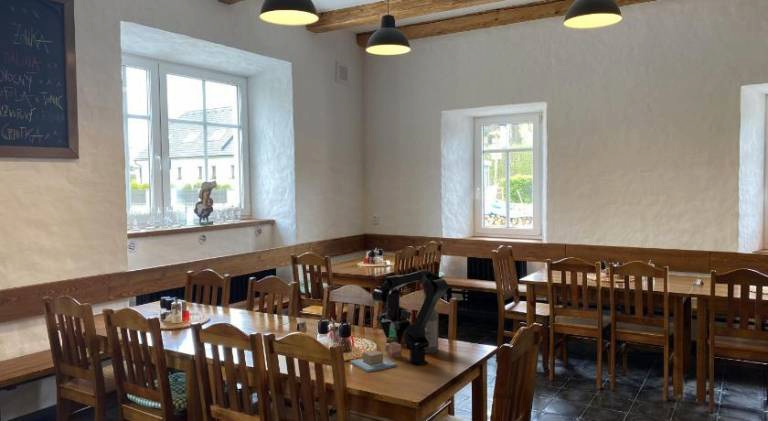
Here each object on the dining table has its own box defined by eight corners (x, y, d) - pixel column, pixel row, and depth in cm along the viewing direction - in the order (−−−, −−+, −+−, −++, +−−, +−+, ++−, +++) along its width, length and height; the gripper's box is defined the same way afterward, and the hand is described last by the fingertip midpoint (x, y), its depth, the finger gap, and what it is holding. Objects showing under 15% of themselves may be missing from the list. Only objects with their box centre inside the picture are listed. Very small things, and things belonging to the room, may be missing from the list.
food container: (379, 342, 283) (379, 321, 283) (385, 339, 289) (385, 319, 288) (402, 346, 278) (402, 324, 277) (408, 343, 283) (408, 321, 282)
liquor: (436, 353, 266) (436, 286, 264) (415, 352, 268) (415, 285, 266) (438, 347, 275) (438, 282, 273) (418, 346, 277) (418, 281, 275)
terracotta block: (401, 356, 263) (401, 344, 263) (391, 358, 260) (391, 346, 260) (394, 353, 267) (394, 342, 267) (385, 355, 265) (385, 343, 264)
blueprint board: (396, 366, 249) (396, 354, 249) (367, 372, 242) (367, 360, 241) (378, 357, 261) (378, 346, 261) (350, 363, 253) (349, 351, 253)
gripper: (420, 306, 259) (420, 341, 260) (396, 298, 275) (396, 332, 276) (399, 309, 253) (399, 346, 254) (375, 301, 269) (376, 336, 270)
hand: (393, 339), depth 263 cm, fingers open, 9 cm apart
